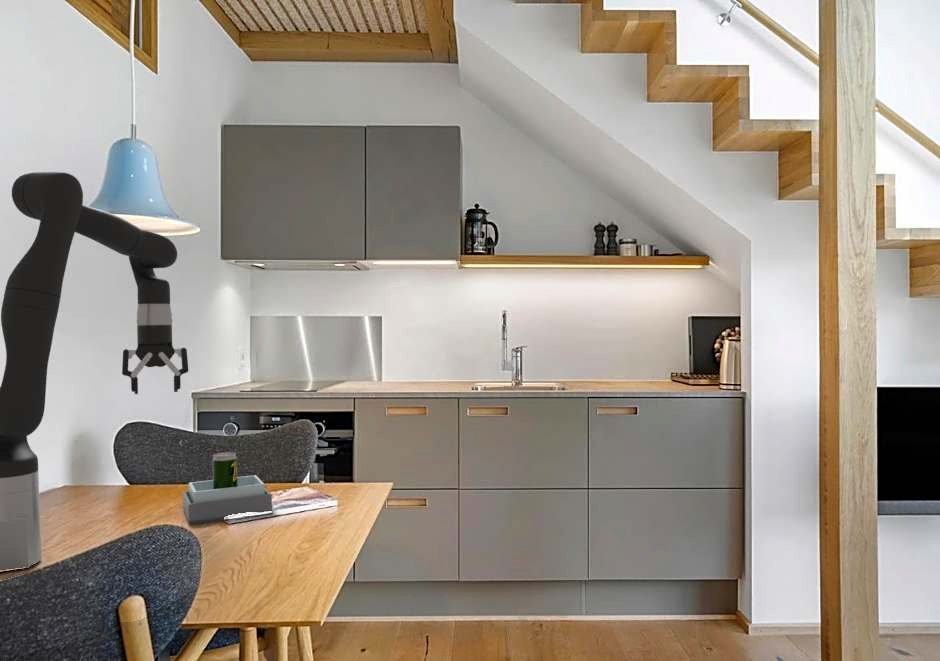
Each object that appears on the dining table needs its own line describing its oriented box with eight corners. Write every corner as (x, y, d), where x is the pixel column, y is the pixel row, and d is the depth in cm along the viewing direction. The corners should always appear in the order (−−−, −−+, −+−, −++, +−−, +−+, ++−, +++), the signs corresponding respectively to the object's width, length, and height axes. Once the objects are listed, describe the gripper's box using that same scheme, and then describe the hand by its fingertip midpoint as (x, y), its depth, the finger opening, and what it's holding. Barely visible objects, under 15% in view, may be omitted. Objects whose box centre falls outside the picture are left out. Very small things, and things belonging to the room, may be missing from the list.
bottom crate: (272, 513, 173) (271, 494, 173) (189, 525, 165) (188, 504, 165) (261, 500, 186) (260, 482, 186) (183, 510, 178) (182, 491, 178)
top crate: (265, 509, 174) (264, 483, 174) (194, 519, 167) (193, 492, 167) (256, 499, 184) (255, 475, 184) (189, 507, 177) (188, 482, 177)
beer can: (213, 509, 172) (211, 457, 172) (214, 504, 177) (212, 453, 177) (237, 507, 173) (236, 455, 173) (238, 501, 179) (236, 451, 178)
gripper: (186, 323, 182) (187, 390, 182) (121, 324, 176) (122, 393, 177) (188, 323, 175) (189, 392, 175) (120, 324, 170) (122, 395, 170)
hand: (156, 392), depth 176 cm, fingers open, 8 cm apart
